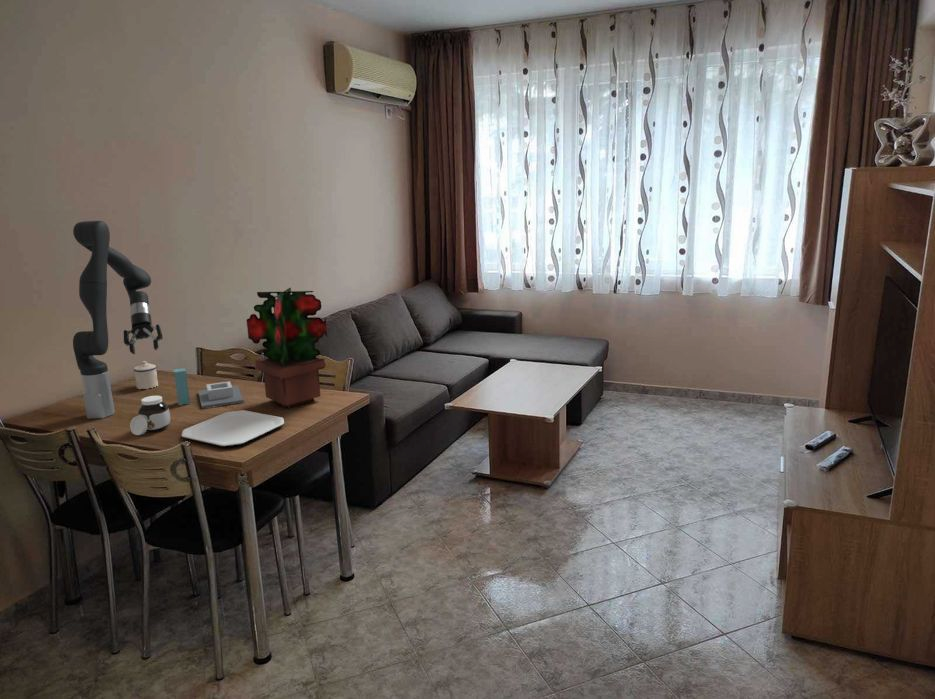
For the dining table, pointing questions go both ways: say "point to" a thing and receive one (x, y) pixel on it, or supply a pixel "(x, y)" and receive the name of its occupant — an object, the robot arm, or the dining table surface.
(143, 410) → the spread jar
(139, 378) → the teacup with lid
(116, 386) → the dining table surface
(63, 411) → the dining table surface
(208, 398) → the socket holder
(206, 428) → the plate
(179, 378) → the teal peg
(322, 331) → the potted plant
